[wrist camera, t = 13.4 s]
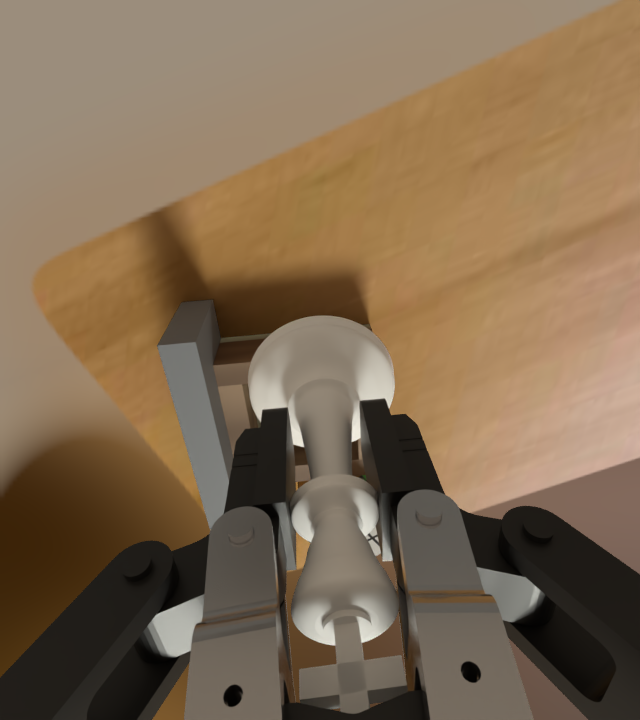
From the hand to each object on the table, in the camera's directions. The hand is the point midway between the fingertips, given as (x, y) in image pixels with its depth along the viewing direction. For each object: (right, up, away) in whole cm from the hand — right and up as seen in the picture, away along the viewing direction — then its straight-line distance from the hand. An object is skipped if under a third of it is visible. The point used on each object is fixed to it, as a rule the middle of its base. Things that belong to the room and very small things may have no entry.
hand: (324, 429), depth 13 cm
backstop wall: (-7, 0, +19) cm, 20 cm away
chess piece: (0, +1, +2) cm, 3 cm away
